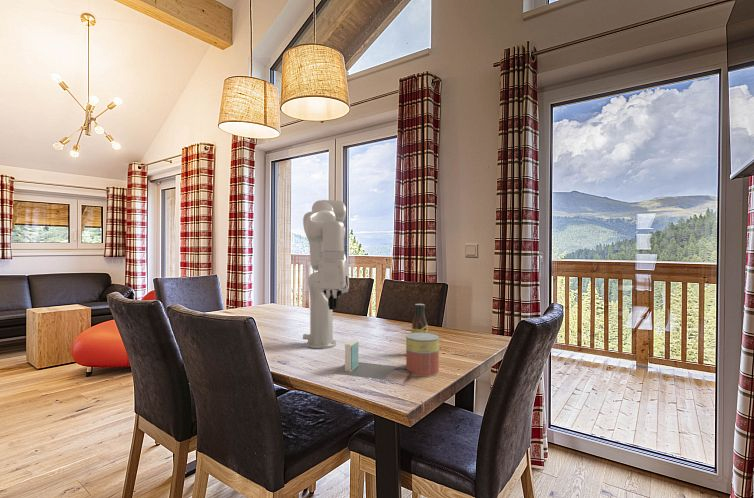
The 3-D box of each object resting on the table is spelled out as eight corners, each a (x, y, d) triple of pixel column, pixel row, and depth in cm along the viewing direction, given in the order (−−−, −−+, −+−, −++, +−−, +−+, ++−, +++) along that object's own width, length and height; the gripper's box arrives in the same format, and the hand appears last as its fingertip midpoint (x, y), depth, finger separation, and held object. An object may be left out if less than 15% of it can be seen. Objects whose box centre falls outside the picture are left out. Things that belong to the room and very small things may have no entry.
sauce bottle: (427, 357, 147) (427, 305, 147) (410, 356, 149) (411, 305, 149) (428, 352, 154) (428, 303, 154) (412, 351, 155) (412, 302, 155)
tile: (345, 370, 128) (345, 344, 128) (352, 364, 135) (352, 339, 135) (351, 371, 128) (351, 344, 128) (358, 365, 134) (358, 339, 134)
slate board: (332, 376, 126) (332, 373, 126) (348, 363, 139) (348, 361, 139) (384, 382, 120) (384, 379, 120) (396, 368, 134) (396, 366, 134)
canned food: (417, 363, 140) (417, 331, 140) (445, 370, 132) (445, 335, 132) (399, 371, 131) (399, 336, 131) (427, 379, 124) (427, 342, 124)
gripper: (308, 256, 132) (308, 309, 132) (348, 256, 127) (348, 312, 127) (318, 255, 139) (318, 306, 139) (357, 256, 134) (357, 308, 134)
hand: (333, 308), depth 133 cm, fingers closed
